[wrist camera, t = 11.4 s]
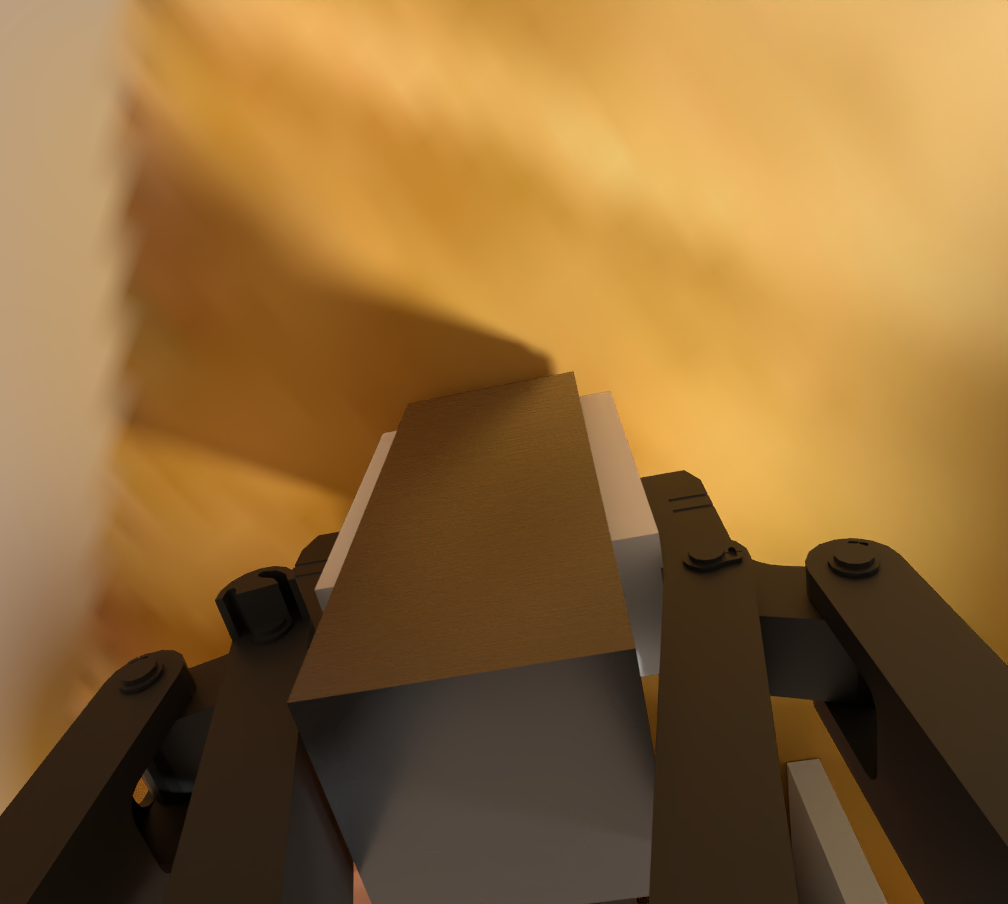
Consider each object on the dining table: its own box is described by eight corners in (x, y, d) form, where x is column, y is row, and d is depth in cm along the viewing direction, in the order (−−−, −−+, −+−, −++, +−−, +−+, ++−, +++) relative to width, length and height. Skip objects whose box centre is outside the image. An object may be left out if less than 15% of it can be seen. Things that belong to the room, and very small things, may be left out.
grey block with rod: (573, 371, 17) (635, 647, 8) (662, 865, 24) (753, 1326, 15) (269, 431, 18) (7, 746, 9) (438, 893, 25) (390, 1349, 15)
